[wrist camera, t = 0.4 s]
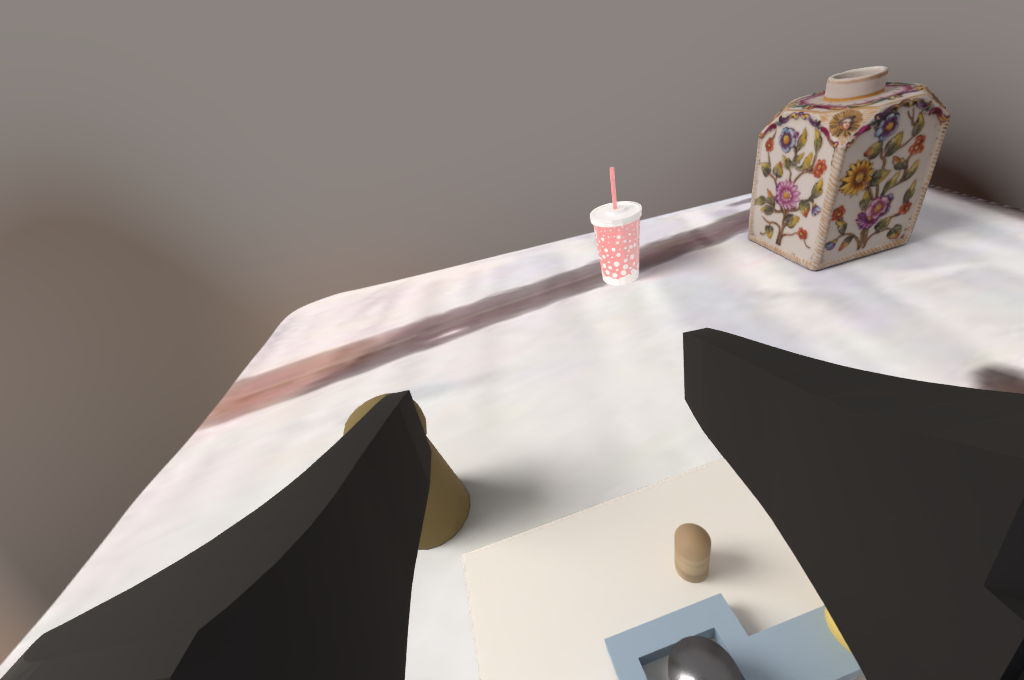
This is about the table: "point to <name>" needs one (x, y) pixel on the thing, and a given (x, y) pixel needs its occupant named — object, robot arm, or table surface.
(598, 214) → the beverage cup
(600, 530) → the base plate
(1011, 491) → the robot arm
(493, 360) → the table surface
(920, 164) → the decorative jar
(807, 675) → the square ring with handle
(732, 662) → the post
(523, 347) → the table surface
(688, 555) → the dowel
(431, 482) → the cork
